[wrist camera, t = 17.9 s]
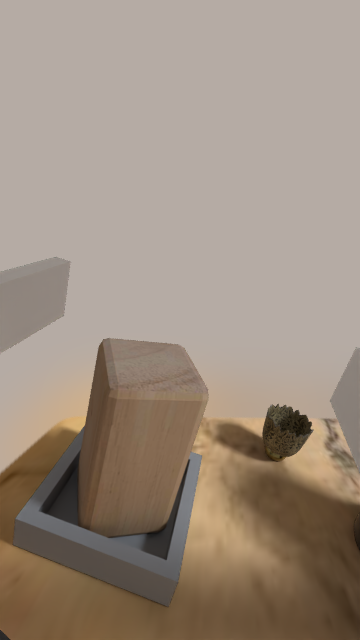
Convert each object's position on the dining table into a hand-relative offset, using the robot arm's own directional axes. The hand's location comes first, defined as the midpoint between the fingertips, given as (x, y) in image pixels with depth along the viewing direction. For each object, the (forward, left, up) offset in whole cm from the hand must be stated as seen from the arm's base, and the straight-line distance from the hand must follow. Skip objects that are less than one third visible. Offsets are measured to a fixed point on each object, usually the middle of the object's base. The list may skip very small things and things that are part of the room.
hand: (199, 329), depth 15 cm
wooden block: (+4, -16, -31) cm, 35 cm away
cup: (-17, -35, -32) cm, 50 cm away
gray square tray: (+4, -16, -32) cm, 36 cm away
